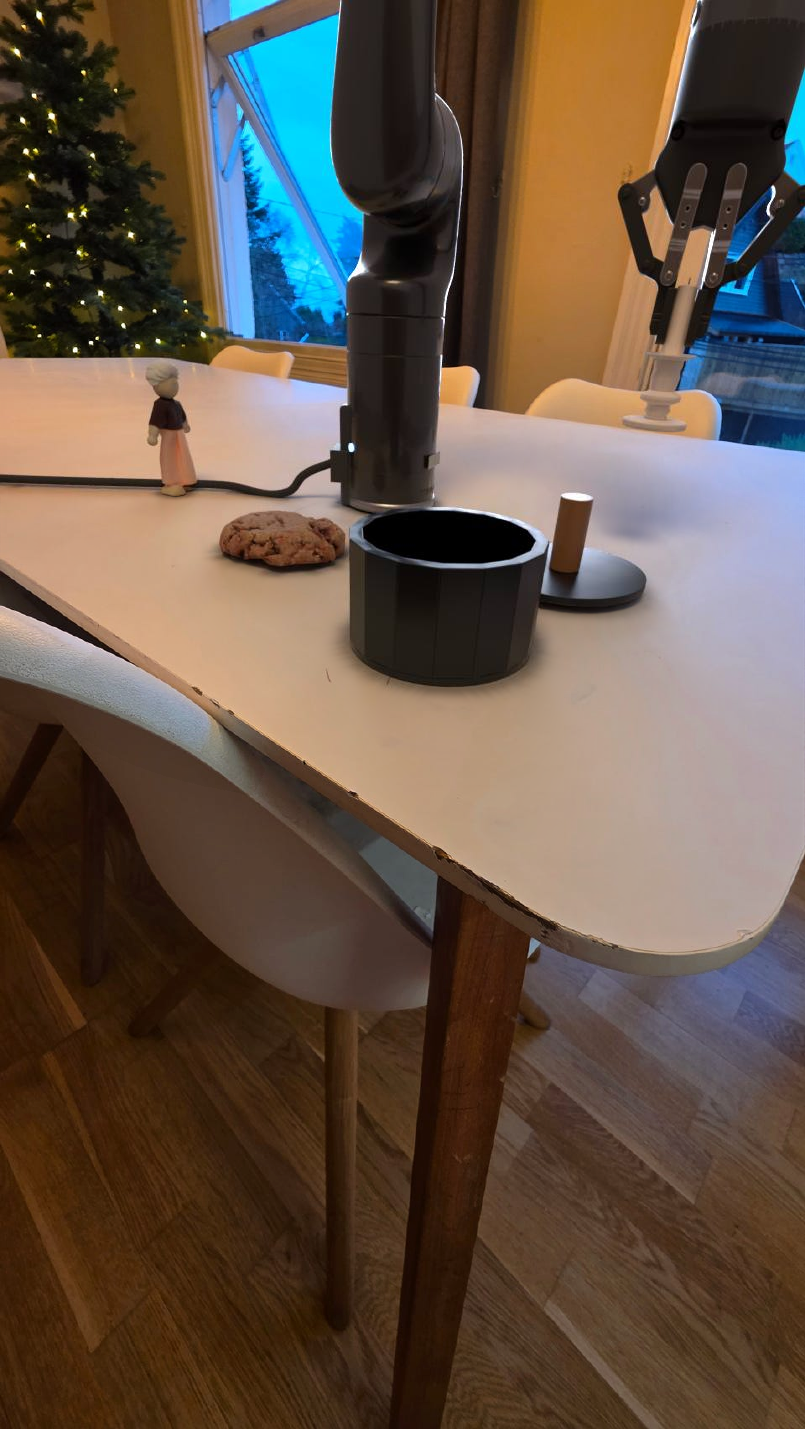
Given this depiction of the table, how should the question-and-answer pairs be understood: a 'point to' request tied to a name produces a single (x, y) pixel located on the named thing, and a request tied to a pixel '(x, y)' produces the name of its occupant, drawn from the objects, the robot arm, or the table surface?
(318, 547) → the cookie
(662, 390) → the candle
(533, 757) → the table surface
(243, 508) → the table surface
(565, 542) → the tin lid
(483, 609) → the tin
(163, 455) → the grandmother figurine
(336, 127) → the robot arm
